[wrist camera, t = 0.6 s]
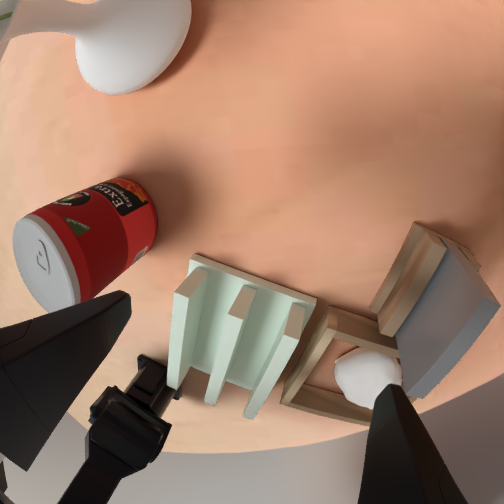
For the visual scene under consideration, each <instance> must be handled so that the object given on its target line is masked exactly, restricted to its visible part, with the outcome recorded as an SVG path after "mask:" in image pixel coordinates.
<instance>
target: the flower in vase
mask: <svg viewBox="0 0 504 504" xmlns="http://www.w3.org/2000/svg"><path fill="white" fill-rule="evenodd" d="M191 13H192V9H191V1H190V0H96V1H95V2H94V3H92V4H80V3H74V2H70V1H66V0H0V45H1V44H3V43H4V42H6V41H8V40H9V39H12V38H14V37H17V36H19V35H23V34H28V33H34V32H61V33H66V34H70V35H72V36H74V37H75V38H76V59H77V63H78V66H79V70H80V72H81V74H82V76H83V78H84V79H85V81H86V82H87V83H88V84H89V85H90V86H92V87H93V88H95V89H96V90H98V91H100V92H102V93H105V94H108V95H124V94H128V93H131V92H134V91H137V90H139V89H141V88H143V87H144V86H146V85H147V84H149V83H150V82H152V81H153V80H154V79H155V78H157V77H158V76H159V75H160V74H161V73H162V72H163V71H164V70H165V69H166V68H167V67H168V66H169V64H170V63H171V62H172V61H173V59H174V58H175V56H176V55H177V54H178V52H179V50H180V49H181V47H182V45H183V43H184V41H185V38H186V36H187V33H188V30H189V26H190V22H191Z"/></svg>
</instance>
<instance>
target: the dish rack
mask: <svg viewBox="0 0 504 504" xmlns="http://www.w3.org/2000/svg"><path fill="white" fill-rule="evenodd" d="M316 301H317V298H314V297H311V296H308V295H305V294H303V293H300V292H297V291H294V290H291V289H289V288H286V287H283V286H280V285H278V284H275V283H272V282H269V281H267V280H264V279H261V278H258V277H256V276H253V275H250V274H248V273H245V272H242V271H240V270H237V269H234V268H231V267H229V266H226V265H223V264H221V263H218V262H216V261H213V260H210V259H208V258H205V257H202V256H200V255H197V254H194V255H193V256H192V257H191V258H190V262H189V268H188V275H187V278H186V279H185V280H184V282H183V283H182V284H181V285H180V286H179V287H178V288H177V290H176V291H175V292H174V300H173V309H172V319H171V330H170V342H169V356H168V371H167V386H169V387H172V388H174V389H176V390H177V389H178V388H179V386H180V384H181V382H182V381H183V379H184V377H185V375H186V374H187V372H188V370H189V369H190V367H193V368H195V369H198V370H200V371H202V372H205V373H207V374H209V375H211V376H210V380H209V383H208V387H207V391H206V395H205V398H204V402H206V403H208V404H210V405H213V406H215V404H216V402H217V399H218V397H219V395H220V393H221V390H222V388H223V386H224V384H225V381H227V382H229V383H232V384H235V385H237V386H240V387H243V388H246V389H248V390H251V393H250V396H249V398H248V401H247V404H246V407H245V410H244V412H243V415H242V417H245V418H248V419H251V420H254V418H255V416H256V415H257V413H258V412H259V410H260V408H261V407H262V405H263V403H264V402H265V400H266V398H267V397H268V395H269V393H270V392H271V390H272V388H273V387H274V385H275V383H276V382H277V380H278V378H279V376H280V375H281V373H282V371H283V369H284V368H285V366H286V364H287V362H288V360H289V359H290V357H291V355H292V353H293V351H294V350H295V348H296V346H297V344H298V342H299V340H300V336H301V334H302V332H303V330H304V328H305V326H306V324H307V322H308V320H309V318H310V316H311V314H312V312H313V310H314V308H315V306H316Z"/></svg>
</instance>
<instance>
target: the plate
mask: <svg viewBox="0 0 504 504" xmlns="http://www.w3.org/2000/svg"><path fill="white" fill-rule="evenodd" d="M439 239H440V240H441V242H442V243H443V244H444V246H445V247H446V248H447V250H446V252H445V254H444V255H443V257H442V259H441V261H440V263H439V265H438V267H437V268H436V270H435V272H434V274H433V275H432V277H431V279H430V281H429V282H428V284H427V286H426V287H425V289H424V291H423V292H422V294H421V296H420V297H419V299H418V300H417V302H416V304H415V305H414V307H413V308H412V310H411V311H410V313H409V314H408V316H407V317H406V319H405V320H404V322H403V323H402V325H401V326H400V328H399V329H398V330H397V332H396V333H395V335H396V340H397V346H398V351H399V357H400V363H401V370H402V377H403V384H404V391H405V394H406V395H407V396H412V397H417V398H422V399H423V398H424V397H425V396H426V395H427V394H428V393H429V392H430V391H431V390H432V389H433V388H434V387H435V386H436V385H437V384H438V383H439V382H440V381H441V380H442V379H443V378H444V377H445V376H446V375H447V374H448V373H449V372H450V370H451V369H452V368H453V367H454V366H455V365H456V364H457V363H458V361H459V360H460V359H461V358H462V357H463V356H464V354H465V353H466V352H467V351H468V350H469V348H470V347H471V346H472V345H473V343H474V342H475V341H476V339H477V338H478V337H479V336H480V334H481V333H482V332H483V330H484V329H485V328H486V326H487V325H488V323H489V322H490V321H491V319H492V318H493V316H494V315H495V313H496V312H497V311H498V309H499V308H500V306H501V305H500V303H499V302H498V300H497V299H496V297H495V296H494V295H493V293H492V292H491V290H490V289H489V287H488V286H487V285H486V283H485V282H484V280H483V279H482V278H481V276H480V275H479V274H478V272H477V271H476V270H475V268H474V267H473V266H472V265H471V263H470V262H469V261H468V259H467V258H466V257H465V256H464V254H463V253H462V252H461V251H460V250H459V248H458V247H457V246H456V245H455V244H453V243H451V242H449V241H447V240H445V239H443V238H441V237H439Z"/></svg>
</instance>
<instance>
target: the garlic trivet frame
mask: <svg viewBox="0 0 504 504" xmlns="http://www.w3.org/2000/svg"><path fill="white" fill-rule="evenodd" d="M332 338H334V339H337V340H340V341H343V342H347V343H350V344H353V345H356V346H359V347H363V348H366V349H369V350H372V351H376V352H379V353H382V354H386V355H389V356H393V357H396V358H400V357H399V351H398V346H397V340H396V335H394V336H393V337H390V336H387V335H384V334H381V333H380V331H379V324H378V322H377V321H374V320H371V319H368V318H365V317H362V316H359V315H356V314H354V313H351V312H348V311H345V310H342V309H339V308H336V307H333V306H330V305H329V306H328V308H327V310H326V312H325V314H324V315H323V317H322V319H321V321H320V323H319V325H318V327H317V328H316V330H315V332H314V334H313V336H312V337H311V339H310V341H309V343H308V345H307V346H306V348H305V350H304V352H303V353H302V355H301V357H300V358H299V360H298V362H297V364H296V365H295V367H294V369H293V370H292V372H291V374H290V375H289V377H288V378H287V380H286V382H285V384H284V389H283V393H282V397H281V400H280V404H282V405H285V406H289V407H292V408H295V409H299V410H302V411H306V412H309V413H313V414H317V415H321V416H325V417H329V418H333V419H337V420H341V421H346V422H350V423H355V424H360V425H365V426H370V424H371V419H372V413H373V409H371V410H370V409H369V408H367V407H362V406H359V405H357V404H355V403H353V402H350V401H349V400H347V399H346V398H345V395H342V394H338V393H334V392H330V391H327V390H323V389H320V388H316V387H313V386H310V385H306V384H303V383H304V381H305V380H306V378H307V377H308V375H309V374H310V372H311V371H312V369H313V368H314V366H315V365H316V363H317V362H318V360H319V359H320V357H321V356H322V354H323V353H324V351H325V349H326V348H327V346H328V345H329V343H330V341H331V340H332ZM401 387H402V389H403V390H404V384H403V381H402V384H401ZM404 392H405V391H404ZM407 397H408V399H409V400H410V402H411V404H412V403H413V402H414V401H415V400H416V399H417V397H412V396H407Z"/></svg>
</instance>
